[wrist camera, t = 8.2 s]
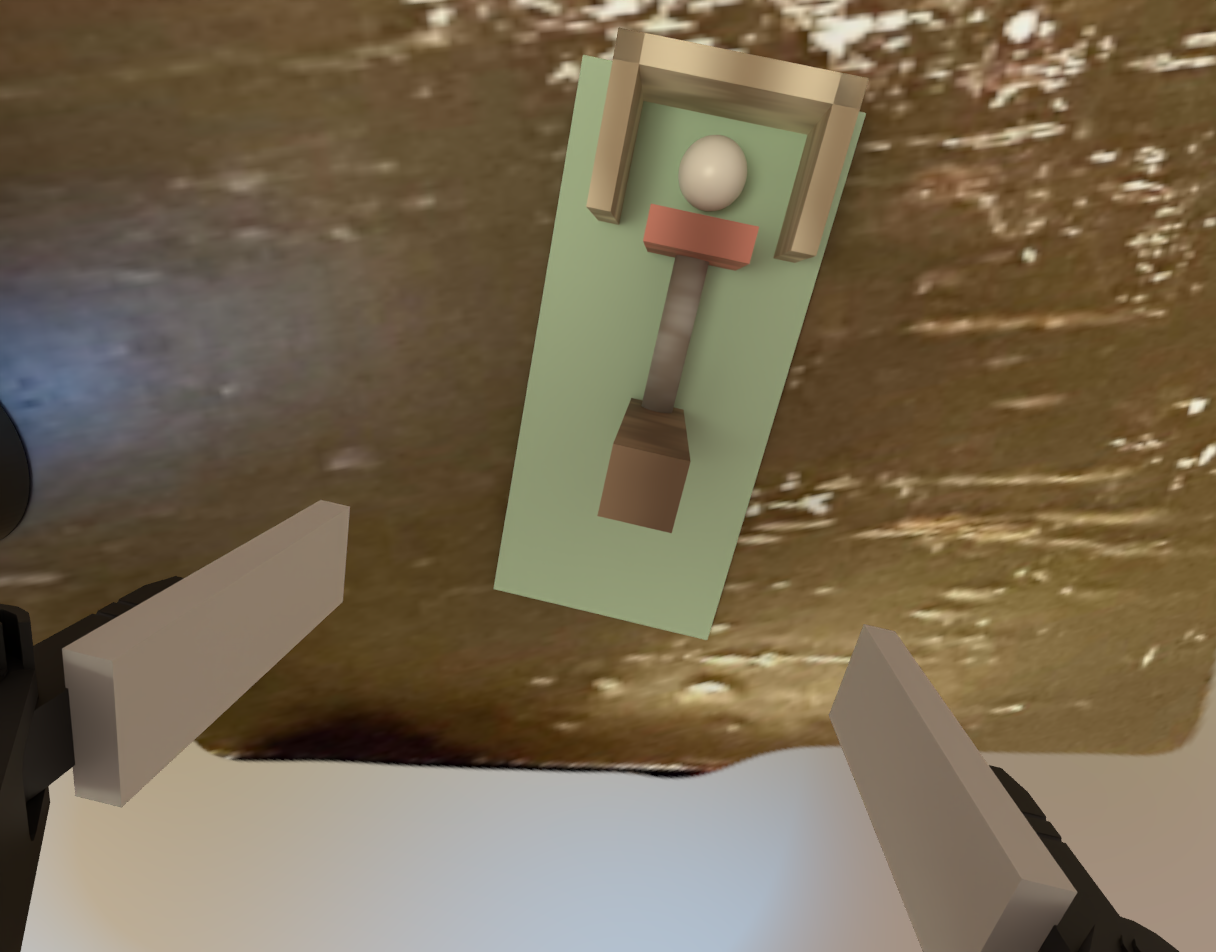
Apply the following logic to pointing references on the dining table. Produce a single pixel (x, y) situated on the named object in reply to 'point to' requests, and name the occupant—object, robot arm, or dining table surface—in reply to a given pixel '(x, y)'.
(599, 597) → the mat
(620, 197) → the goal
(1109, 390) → the dining table surface
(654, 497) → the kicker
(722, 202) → the ball
